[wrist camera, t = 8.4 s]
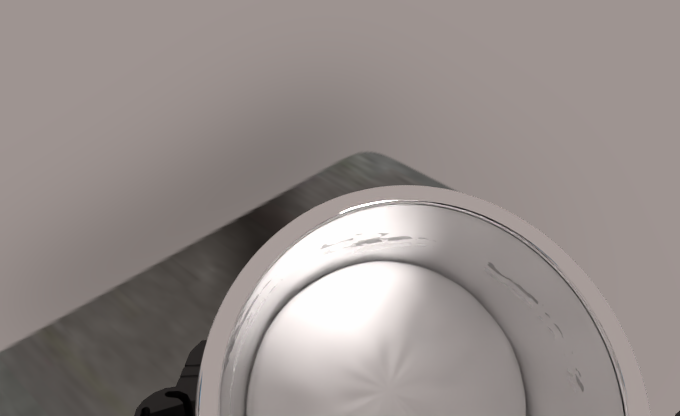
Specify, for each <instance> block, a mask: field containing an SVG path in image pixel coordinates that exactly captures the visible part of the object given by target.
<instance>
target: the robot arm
mask: <svg viewBox="0 0 680 416" xmlns="http://www.w3.org/2000/svg"><path fill="white" fill-rule="evenodd" d="M206 342H207V340H203V341H201V342H200V343H199V344H198V345H197V346H196V347H195V348H194V349H193V350H192V351H191V352H190V354H189V356H188V359H187V361H186V364H185V368H183V371H182V373H181V376H180V379H179V380H178V383H177V385H176V387H171V388H165V389H162V390H160V391H157V392H155V393H153V394H152V395H150V396H149V397H147V398H146V399H145V400H143V402H142V403H141V404H140V405H139V407H138V408H137V409H136V412H135V415H134V416H195V404H196V391H197V383H198V376H199V370H200V365H201V361H202V356H203V352H204V349H205V345H206ZM675 416H680V411H679V412H678V413H677V414H676V415H675Z"/></svg>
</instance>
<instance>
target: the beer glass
mask: <svg viewBox="0 0 680 416" xmlns="http://www.w3.org/2000/svg"><path fill="white" fill-rule="evenodd" d="M195 416H651V411H650V407H649V402H648V397H647V393H646V389H645V385H644V381H643V378H642V375H641V372H640V369H639V366H638V363H637V360H636V357H635V355H634V352H633V350H632V348H631V345H630V343H629V341H628V339H627V336H626V335H625V332H624V330H623V328H622V326H621V325H620V323H619V321H618V319H617V317H616V316H615V314H614V312H613V310H612V309H611V307H610V306H609V304H608V303H607V301H606V299H605V298H604V296H603V295H602V294H601V292H600V291H599V290H598V288H597V287H596V285H595V284H594V283H593V281H592V280H591V279H590V278H589V277H588V275H587V274H586V273H585V272H584V271H583V270H582V268H581V267H580V266H579V265H578V264H577V263H576V262H575V261H574V260H573V259H572V258H571V257H570V256H569V255H568V254H567V253H566V252H565V251H564V250H563V249H562V248H561V247H559V246H558V245H557V244H556V243H555V242H554V241H552V240H551V239H550V238H549V237H548V236H546V235H545V234H544V233H542V232H541V231H540V230H538V229H536V228H535V227H534V226H532V225H531V224H530V223H528V222H526V221H525V220H523V219H522V218H520V217H518V216H516V215H515V214H513V213H511V212H509V211H507V210H505V209H503V208H501V207H499V206H497V205H495V204H492V203H490V202H488V201H485V200H482V199H479V198H477V197H474V196H471V195H468V194H464V193H461V192H457V191H453V190H448V189H442V188H436V187H428V186H414V185H398V186H385V187H377V188H371V189H366V190H361V191H357V192H353V193H349V194H346V195H343V196H340V197H337V198H335V199H332V200H330V201H327V202H325V203H323V204H320V205H318V206H316V207H314V208H312V209H311V210H309V211H307V212H305V213H304V214H302V215H300V216H299V217H297V218H296V219H294V220H293V221H291V222H290V223H289V224H287V225H286V226H285V227H283V228H282V229H281V230H279V231H278V232H277V233H276V234H275V235H274V236H272V237H271V238H270V239H269V240H268V241H267V242H266V243H265V244H264V245H263V246H262V247H261V248H260V249H259V250H258V251H257V252H256V253H255V254H254V256H253V257H252V258H251V259H250V260H249V262H248V263H247V264H246V265H245V267H244V268H243V269H242V271H241V272H240V273H239V275H238V276H237V278H236V279H235V281H234V282H233V284H232V286H231V287H230V289H229V291H228V292H227V294H226V296H225V298H224V300H223V302H222V304H221V306H220V308H219V310H218V312H217V314H216V317H215V319H214V322H213V324H212V327H211V329H210V332H209V335H208V338H207V342H206V345H205V349H204V352H203V356H202V361H201V365H200V370H199V376H198V383H197V391H196V404H195Z"/></svg>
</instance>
